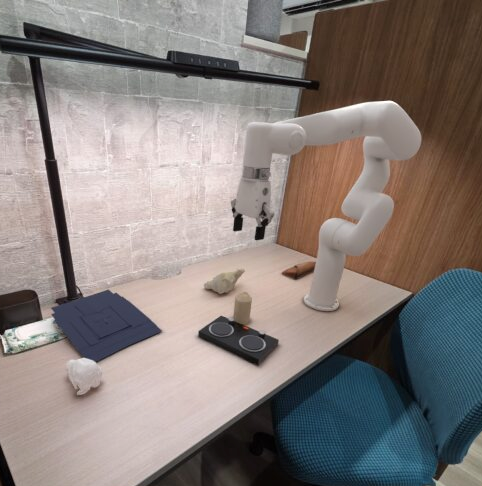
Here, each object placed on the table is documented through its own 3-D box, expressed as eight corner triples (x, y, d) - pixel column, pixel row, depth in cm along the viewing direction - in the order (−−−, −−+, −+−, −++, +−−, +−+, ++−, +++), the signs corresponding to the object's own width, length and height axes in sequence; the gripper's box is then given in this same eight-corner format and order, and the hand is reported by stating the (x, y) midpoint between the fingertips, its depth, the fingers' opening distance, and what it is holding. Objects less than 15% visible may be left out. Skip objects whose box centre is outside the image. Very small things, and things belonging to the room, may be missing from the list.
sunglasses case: (302, 263, 152) (311, 254, 147) (312, 274, 150) (321, 265, 145) (280, 273, 142) (288, 263, 137) (290, 284, 139) (299, 275, 134)
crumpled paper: (75, 372, 69) (52, 352, 76) (83, 403, 72) (60, 380, 80) (101, 359, 73) (77, 341, 80) (107, 389, 76) (84, 368, 84)
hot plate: (220, 320, 106) (221, 312, 104) (277, 345, 95) (279, 336, 93) (198, 336, 97) (198, 327, 96) (258, 365, 86) (259, 356, 84)
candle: (240, 314, 110) (242, 288, 105) (252, 320, 106) (256, 294, 102) (229, 319, 106) (231, 293, 102) (242, 326, 103) (245, 299, 98)
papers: (113, 294, 117) (113, 285, 115) (162, 337, 100) (163, 328, 98) (45, 316, 102) (44, 307, 100) (90, 371, 85) (89, 362, 83)
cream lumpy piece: (204, 302, 121) (236, 285, 113) (197, 285, 121) (228, 266, 114) (222, 298, 134) (252, 282, 126) (215, 283, 135) (244, 266, 127)
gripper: (288, 178, 82) (277, 241, 90) (244, 170, 94) (238, 226, 102) (268, 178, 78) (258, 245, 86) (225, 170, 90) (220, 229, 98)
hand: (247, 235), depth 94 cm, fingers open, 9 cm apart
